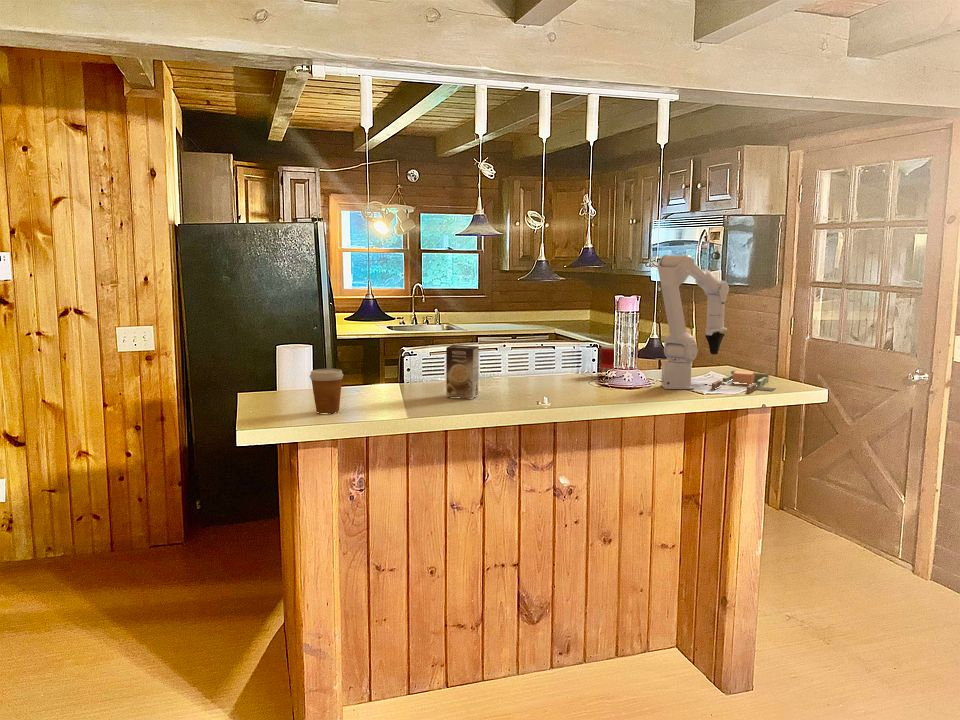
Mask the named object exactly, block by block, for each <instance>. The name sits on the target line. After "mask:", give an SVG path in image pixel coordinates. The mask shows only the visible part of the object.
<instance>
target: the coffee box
mask: <svg viewBox="0 0 960 720" xmlns="http://www.w3.org/2000/svg"><path fill="white" fill-rule="evenodd" d="M479 350H480V348H479V346H477V345H476V346H475V345H462V344H461V345H460V344H452V345H449V346H447V347H446V350H445V351H446V354H445V355H446V358H445V359H446V363H445V364H446V366H445V367H446V369H445V370H446V373H445V374H446V376H445V377H446V380H445V381H446V383H445V384H446V385H445V387H446V391H445V392H446V394H445V397H446V396H447V397H460V398H474V397H475V396H477V395H478V396H479V372H480V371H479V361H480V360H479V355H480V353H479ZM474 399H475V398H474Z"/></svg>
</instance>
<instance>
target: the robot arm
mask: <svg viewBox="0 0 960 720" xmlns="http://www.w3.org/2000/svg"><path fill="white" fill-rule="evenodd" d="M656 267H657V271H658V276H659V283H660V288H661V293H662V298H663V303H664V308H665V316H666V320H667V324H668V331H669V333H668V335H666V336H665V338H664V339H663V343H664V346H663V354H664V356H665V357H666V360H667V361H666V360H665V361H662V364H661V377H660V378H661V382H660V386H661V387H662V388H663V389H664V390H694V389H695V388H694V387H693V385H691V384H692V364H693V362H694V360H695V359H696V358H697V356H698V353H699V351H698V350H699V349H698V345H697V343H696V342H695V337H694V336H693V335H692V334H690V333H689V331H687V327H686V321H685V315H684V309H683V303H682V298H681V293H680V285H682V284H684V283H685V282H686V280H687V279H688V278H689V276H690V277H692V278H693V279H694V280H695V283H696V285H697V286H698V287H700V288H701V289H702V290H703V291H704V295H705V296H706V297H707V304H706V307H707V308H706V326H705V334H704V336H705V338H706V341H707V345H708V348H709V353H710V355H718V353H719V351H720V346H721V343H722V341H723V339H724V337H725V333H724V332H725V331H727V330H728V327H725V306H726V304H725V303H726V302H727V300H728V299H727V298H728V294H729V292H730V288H729V283H728V282H727V281H725V280H721V279H719V278H718V277H717V276H715V275H714V274H713V273H712V271H711V270H709V269H705V270H704V269H701V268H700V266H699V265H698V264H696V263H695V258H694V257H692V256H691V255H690V254H685V255H683V254H682V255H681V254H680V255H679V254H678V255H677V254H676V255H675V254H673V255H669V254H663V255H662V256H661V257H660V259H659V261H658V264H657V266H656Z"/></svg>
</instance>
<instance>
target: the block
mask: <svg viewBox="0 0 960 720" xmlns="http://www.w3.org/2000/svg"><path fill="white" fill-rule="evenodd" d="M735 371H736V372H734V373H733V381H732V383H733V382H739V383H747V384H752V383H753V382H754V379H755V373H756V372H755V371H749V370H748V371H747V370H745V371H744V370H735ZM754 383H755V382H754Z"/></svg>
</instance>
